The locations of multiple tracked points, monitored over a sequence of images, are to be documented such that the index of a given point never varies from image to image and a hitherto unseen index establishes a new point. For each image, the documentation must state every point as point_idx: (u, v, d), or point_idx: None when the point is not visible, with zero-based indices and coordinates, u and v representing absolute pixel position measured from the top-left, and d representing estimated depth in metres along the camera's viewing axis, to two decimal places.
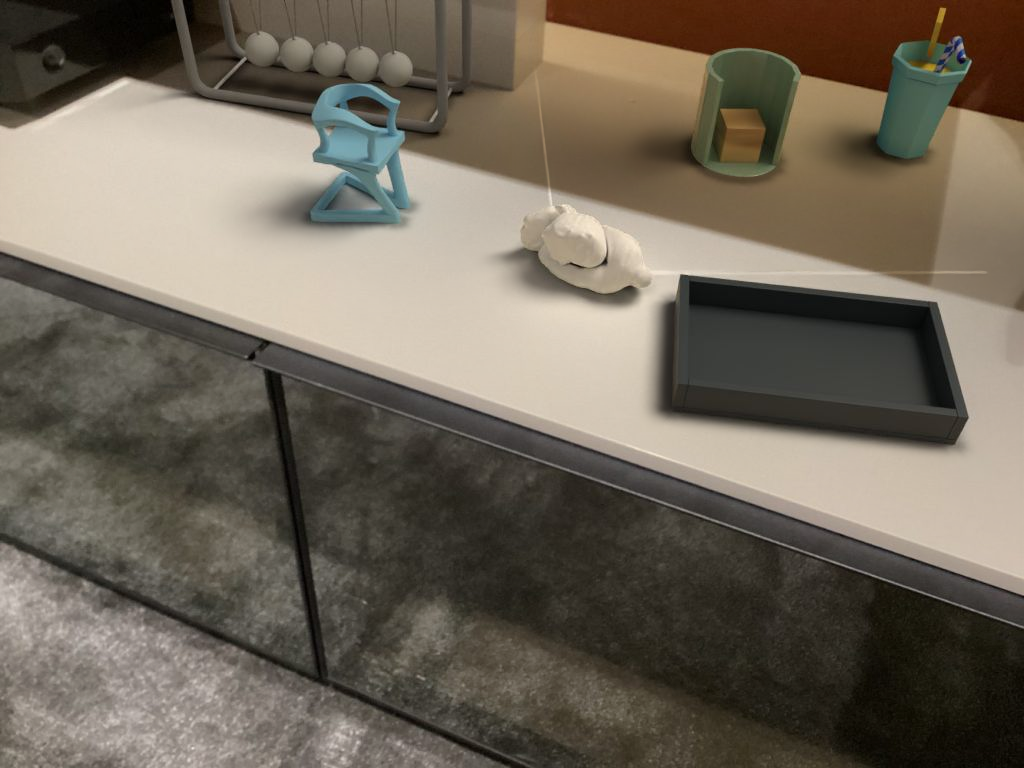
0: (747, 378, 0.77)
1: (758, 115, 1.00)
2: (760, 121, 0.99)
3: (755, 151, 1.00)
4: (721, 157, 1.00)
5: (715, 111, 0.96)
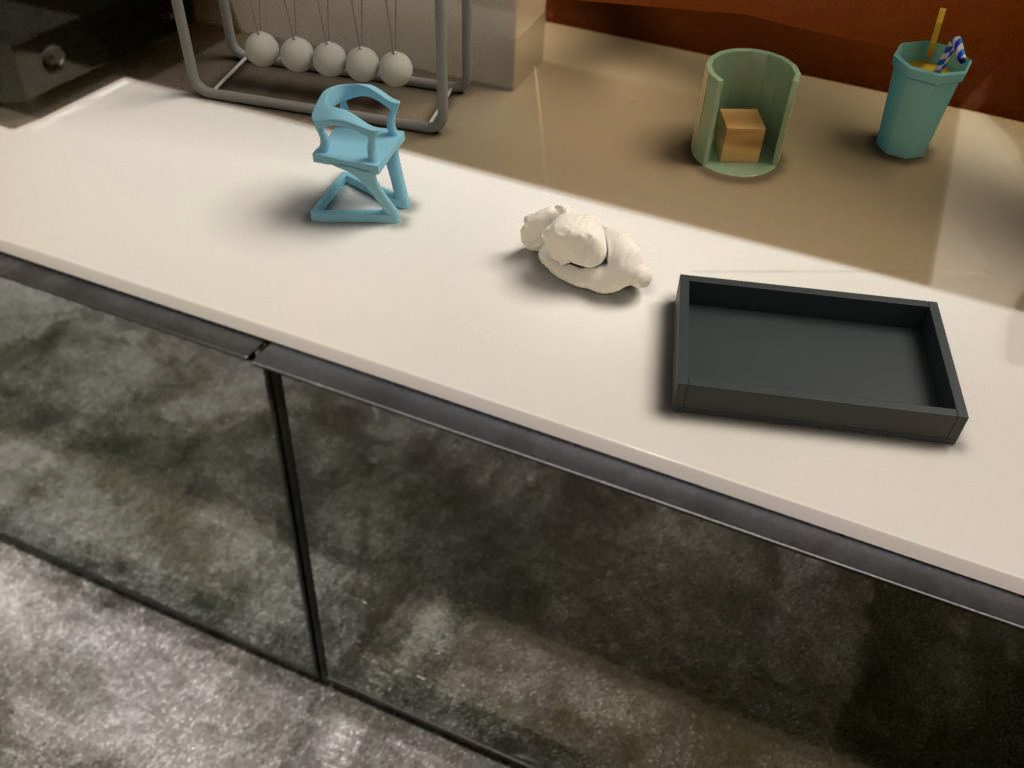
0: (747, 378, 0.77)
1: (758, 115, 1.00)
2: (760, 121, 0.99)
3: (755, 151, 1.00)
4: (721, 157, 1.00)
5: (715, 111, 0.96)
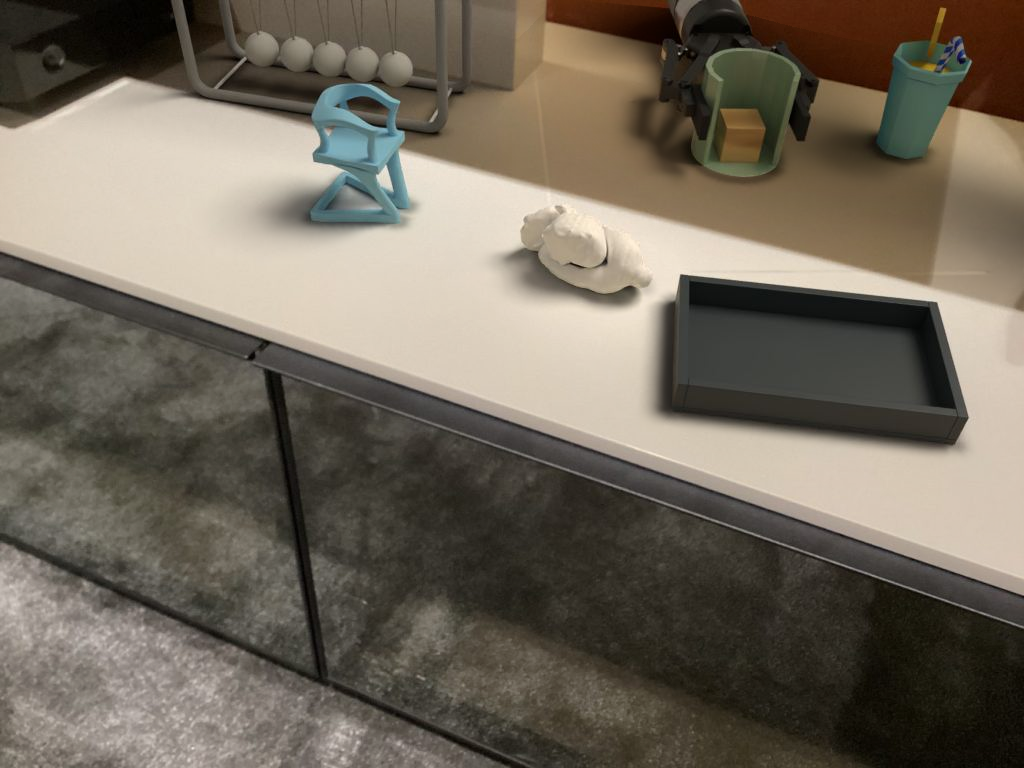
0: (747, 378, 0.77)
1: (758, 115, 1.00)
2: (760, 121, 0.99)
3: (755, 151, 1.00)
4: (721, 157, 1.00)
5: (715, 111, 0.96)
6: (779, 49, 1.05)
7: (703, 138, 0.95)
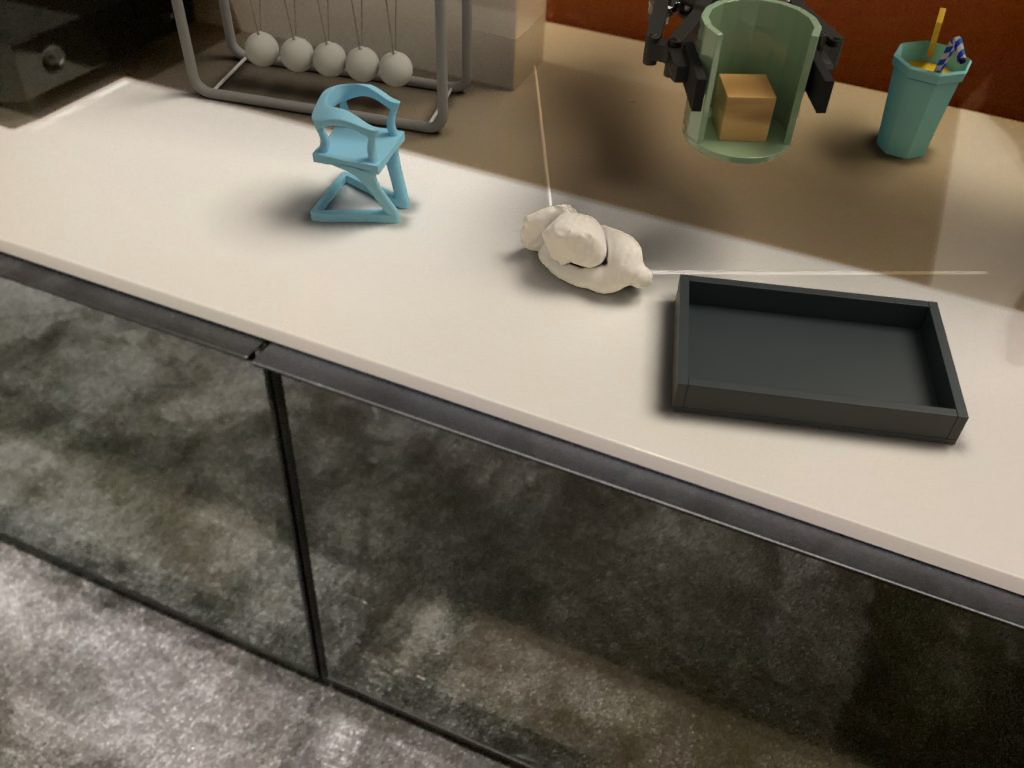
0: (747, 378, 0.77)
1: (767, 82, 0.80)
2: (770, 88, 0.79)
3: (763, 127, 0.80)
4: (720, 134, 0.80)
5: (712, 74, 0.76)
6: (793, 2, 0.85)
7: (697, 109, 0.76)
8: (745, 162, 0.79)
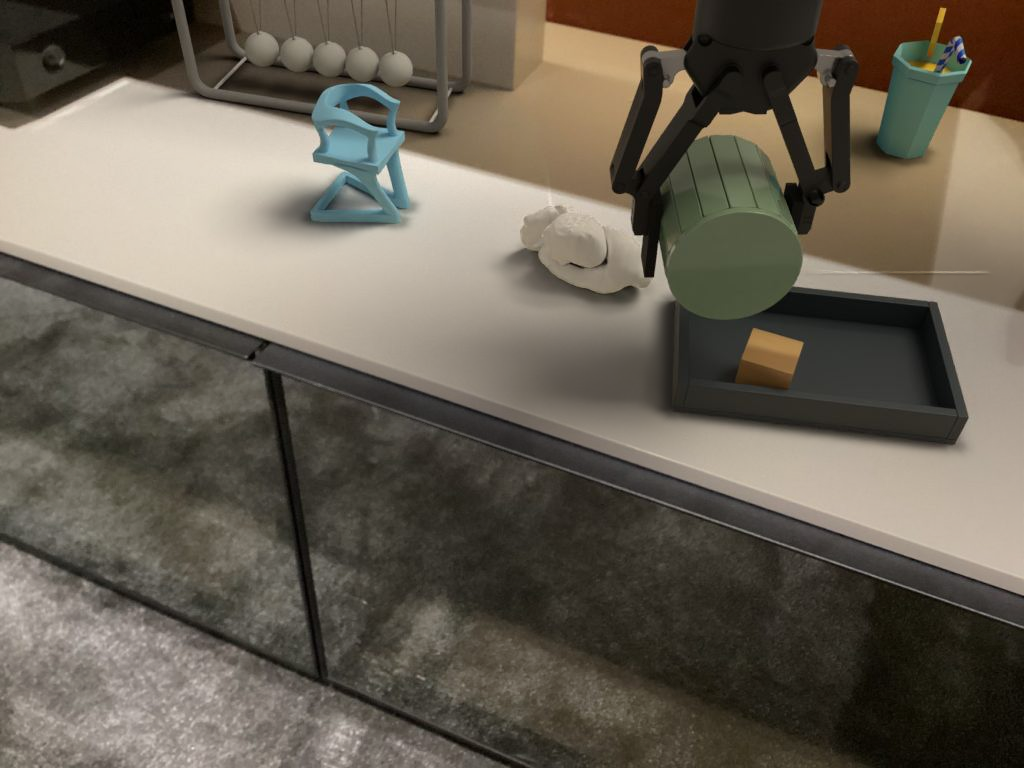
0: None
1: None
2: None
3: None
4: None
5: None
6: None
7: None
8: (726, 318, 0.69)
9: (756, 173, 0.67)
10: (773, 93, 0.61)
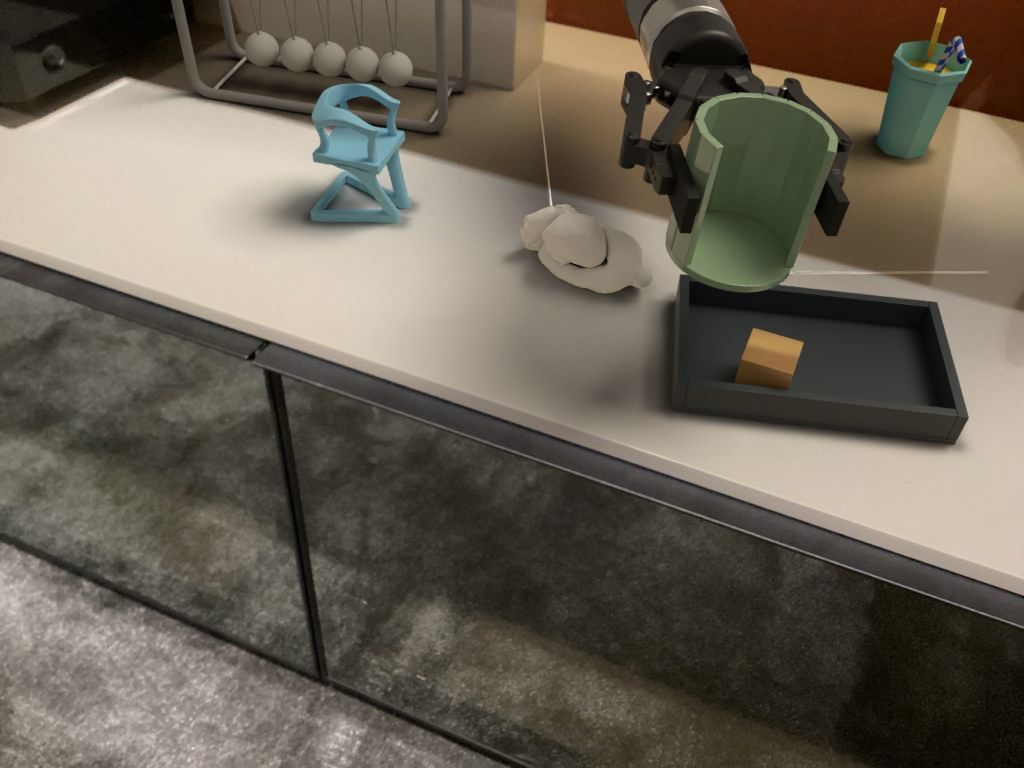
0: None
1: None
2: None
3: None
4: None
5: (708, 191, 0.63)
6: (791, 91, 0.73)
7: (687, 230, 0.63)
8: (742, 291, 0.66)
9: None
10: None
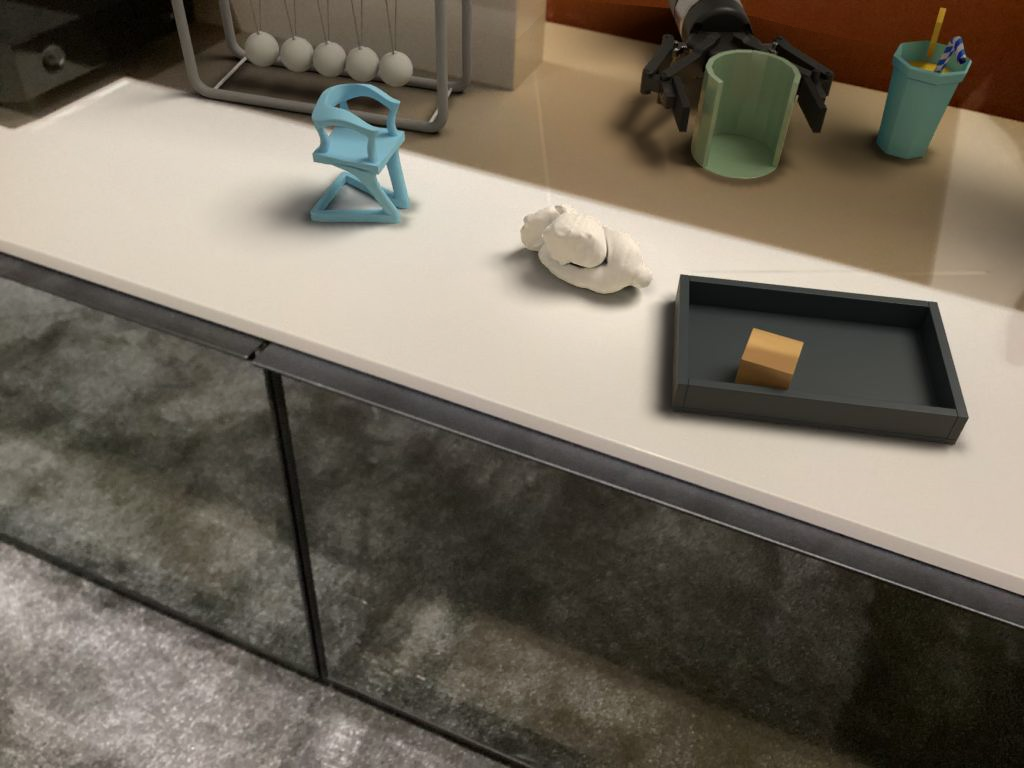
0: None
1: None
2: None
3: None
4: None
5: (715, 113, 0.95)
6: (781, 44, 1.05)
7: (683, 130, 0.96)
8: None
9: None
10: None
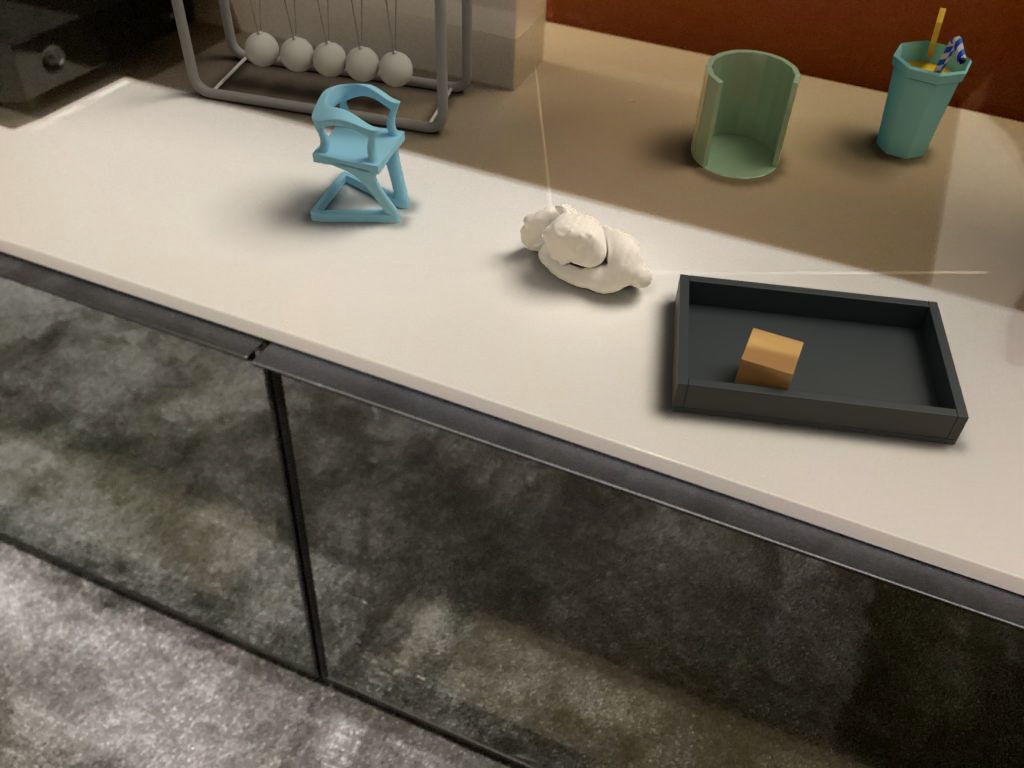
0: None
1: None
2: None
3: None
4: None
5: (715, 113, 0.95)
6: None
7: None
8: None
9: None
10: None
